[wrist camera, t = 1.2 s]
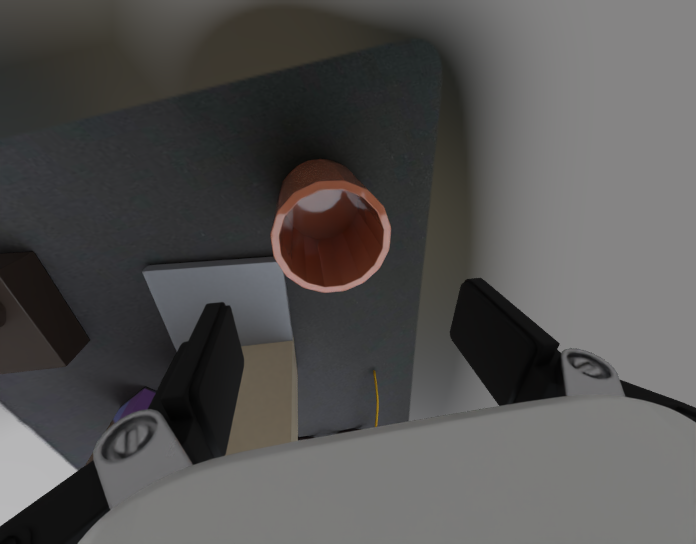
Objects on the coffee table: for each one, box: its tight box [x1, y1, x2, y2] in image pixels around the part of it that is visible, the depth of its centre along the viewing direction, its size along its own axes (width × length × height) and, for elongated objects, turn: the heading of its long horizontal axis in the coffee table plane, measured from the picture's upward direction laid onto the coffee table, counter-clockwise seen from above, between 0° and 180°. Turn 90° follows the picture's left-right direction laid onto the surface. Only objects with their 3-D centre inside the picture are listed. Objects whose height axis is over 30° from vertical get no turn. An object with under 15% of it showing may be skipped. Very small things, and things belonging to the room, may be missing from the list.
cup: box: [270, 159, 391, 293], centre depth 21 cm, size 7×7×9 cm
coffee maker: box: [142, 257, 298, 456], centre depth 21 cm, size 16×12×21 cm
